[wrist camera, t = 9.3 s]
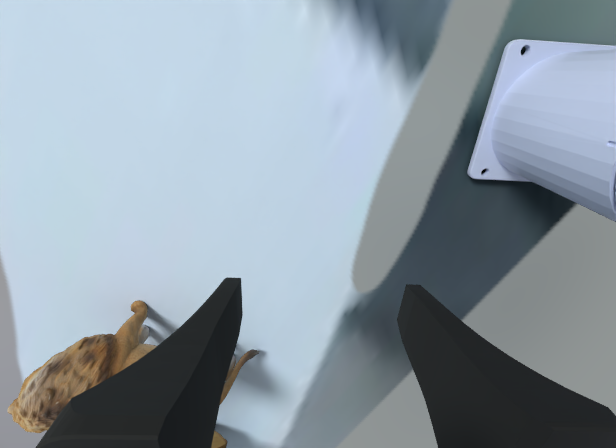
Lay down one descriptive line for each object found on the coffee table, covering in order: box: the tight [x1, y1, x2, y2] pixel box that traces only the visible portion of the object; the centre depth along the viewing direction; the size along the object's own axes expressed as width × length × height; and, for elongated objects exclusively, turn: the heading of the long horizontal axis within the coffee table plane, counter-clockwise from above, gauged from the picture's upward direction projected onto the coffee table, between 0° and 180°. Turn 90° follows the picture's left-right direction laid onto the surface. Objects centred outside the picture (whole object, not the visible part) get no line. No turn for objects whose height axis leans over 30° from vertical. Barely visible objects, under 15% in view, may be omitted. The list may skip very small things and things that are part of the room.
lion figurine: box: [8, 301, 259, 433], centre depth 23 cm, size 15×5×9 cm, turn 72°
